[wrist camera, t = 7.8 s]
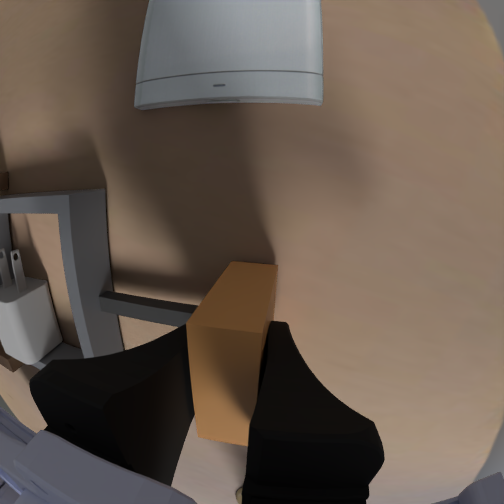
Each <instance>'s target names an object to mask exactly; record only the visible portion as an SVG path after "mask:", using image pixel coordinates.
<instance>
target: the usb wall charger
mask: <svg viewBox="0 0 504 504" xmlns="http://www.w3.org/2000/svg"><path fill="white" fill-rule="evenodd" d="M0 252H3V254H4V255H3V258H2V259H1V258H0V273H1V278H2V282H3V284H2V285H0V340H1V343H2V345H3V348H4V350H5V353H6V354H8V355H10V356H12V357H14V358H15V359H17V360H19V361H21V362H23V363H25V364H28V365H30V364H34V363H36V362H38V361H39V360H40V359H41V358H43V357H44V356H45V355H46V354H47V353H49V352H50V351H51V350H52V349H54V348H55V347H56V346H57V345H58V344H60V343H61V342H62V340H63V339H62V335H61V332H60V329H59V326H58V322H57V319H56V315H55V312H54V308H53V304H52V300H51V296H50V292H49V288H48V283H47V281H46V280H40V279H35V278H30V277H25V276H24V271H23V267H22V262H21V258H20V254H19V250H18V249H16V250H14V251H11V259H12V266H13V271H14V276H15V278H14V279H12V280H11V277H10V272H9V268H8V263H7V258H6V254H5V250H4V248H2V249H0ZM15 253H17V255H18V258H17V260H16V261H15V260H14V258H13V256H14V254H15Z"/></svg>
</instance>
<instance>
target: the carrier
mask: <svg viewBox="0 0 504 504" xmlns="http://www.w3.org/2000/svg"><path fill="white" fill-rule="evenodd" d="M8 213H53V214H58V220H59V232H60V242H61V250H62V258H63V265H64V272H65V278H66V283H67V289H68V294H69V299H70V304H71V309H72V313H73V318H74V322H75V326H76V330H77V334H78V338H79V341H80V345H81V349H79V348H76V347H73V346H71V345H68V344H65V343H63V342H61V343H60V344H58V345H57V346H56V347H55V348H54V349H52V350H51V351H50V352H49V353H47V354H46V355H45V356H44V357H43V358H41V359H40V360H39V361H38V362H36V363H34V364H31V365H32V366H34V367H36V368H38V369H40V370H41V369H42V368H44V367H45V366H46V365H47V364H48V363H49V362H50V361H51V360H53V359H56V360H60V359H83V358H91V357H98V356H104V355H109V354H113V353H117V352H121V351H124V350H123V345H122V340H121V335H120V330H119V325H118V319H117V315H121V316H126V317H131V318H135V319H140V320H145V321H150V322H155V323H160V324H166V325H171V326H177V327H180V326H182V325H184V324H186V329H187V342H188V354H189V366H190V376H191V385H192V394H193V403H194V411H195V419H196V426H197V434H198V437H200V438H205V439H209V440H214V441H220V442H225V443H231V444H237V445H243V446H248V435H249V424H250V421H251V419H252V416H253V413H254V410H255V406H256V403H257V400H258V396H259V393H260V389H261V385H262V381H263V378H264V372H265V361H266V350H267V338H268V328H269V325H270V322H271V321H273V320H274V308H275V296H276V284H277V271H278V265H270V264H259V263H248V262H237V261H231V263H230V264H229V265H228V267H227V268H226V269H225V271H224V272H223V273H222V275H221V276H220V277H219V279H218V280H217V281H216V283H215V284H214V286H213V287H212V288H211V290H210V291H209V292H208V294H207V295H206V296H205V298H204V299H203V300H202V302H201V303H200V305H199V306H197V305H190V304H183V303H177V302H170V301H164V300H158V299H152V298H146V297H140V296H134V295H128V294H123V293H117V292H113V287H112V279H111V271H110V261H109V251H108V239H107V224H106V200H105V189H86V190H65V191H49V192H35V193H23V194H12V195H2V196H0V249H2V248H4V250H5V254H6V258H7V263H8V268H9V272H10V277H11V280H12V279H14V278H15V276H14V271H13V266H12V259H11V251H12V247H11V239H10V231H9V222H8ZM3 255H4V254H3V252H0V258H1V259H2V258H3ZM2 284H3V282H2V278H1V273H0V285H2Z"/></svg>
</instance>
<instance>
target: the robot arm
mask: <svg viewBox="0 0 504 504" xmlns="http://www.w3.org/2000/svg"><path fill="white" fill-rule="evenodd" d="M29 385H30V391H31V395H32V397H33V399H34V401H35V403H36V405H37V407H38V409H39V411H40V413H41V414H42V416H43V418H44V420H45V421H46V423H47V425H48V426H47V427H46V428H45V429H44V430H40V431H39V432H38V433H37V434H36V433H35V432H34V431H32V430H31V429H29V428H28V427H26V426H25V425H24V424H22V423H21V422H19V421H18V420H17V419H15V418H14V417H13V416H12V415H10V414H9V413H8V412H6V411H5V410H4V409H3V408H1V407H0V504H197V503H196V502H195V501H194V500H193V499H192V498H190V497H189V496H187V495H185V494H183V493H181V492H180V491H178V490H176V489H175V488H173V487H171V484H172V480H173V477H174V473H175V470H176V467H177V463H178V460H179V457H180V454H181V451H182V448H183V445H184V441H185V439H186V436H187V433H188V430H189V427H190V424H191V422H192V420H193V417H194V415H195V411H194V403H193V394H192V385H191V376H190V366H189V354H188V342H187V329H186V324H184V325H182V326H180V327H179V328H177V329H175V330H173V331H171V332H169V333H167V334H165V335H163V336H161V337H159V338H157V339H155V340H153V341H151V342H148V343H146V344H143V345H140V346H138V347H135V348H132V349H129V350H125V351H121V352H117V353H113V354H109V355H104V356H98V357H91V358H83V359H60V360H56V359H53V360H51V361H50V362H49V363H48V364H47V365H46V366H45V367H44V368H42V369H41V370H40V371H39V372H38V373H37V374H36V375H35V376H34V377H32V378H31V379H30V384H29ZM383 462H384V450H383V445H382V442H381V439H380V436H379V434H378V431H377V429H376V426H375V424H374V422H373V421H371V420H369V419H368V418H366V417H364V416H362V415H361V414H359V413H357V412H356V411H354V410H352V409H351V408H349V407H348V406H347V405H345V404H344V403H343V402H341V401H340V400H339V399H338V398H336V397H335V396H334V395H333V394H332V393H331V392H330V391H329V390H328V389H326V388H325V387H324V386H323V385H322V383H321V382H320V381H319V380H318V379H317V378H316V376H315V375H314V374H313V373H312V371H311V370H310V369H309V367H308V366H307V364H306V363H305V361H304V359H303V358H302V356H301V354H300V353H299V351H298V349H297V347H296V345H295V343H294V340H293V338H292V335H291V333H290V329H289V325H288V324H287V322H279V321H271V322H270V325H269V328H268V338H267V350H266V361H265V372H264V378H263V381H262V385H261V389H260V393H259V396H258V400H257V403H256V406H255V410H254V413H253V416H252V419H251V421H250V424H249V435H248V450H247V465H246V475H245V479H244V484H243V488H242V493H241V495H242V504H366V499H368V498H369V486H368V485H369V483H370V482H371V481H372V479H373V478H374V477H375V475H376V474H377V473H378V471H379V470H380V468H381V467H382V465H383ZM433 504H504V479H503V476H502V474H501V472H498V473H496V474H493V475H490V476H488V477H485V478H483V479H480V480H478V481H476V482H474V483H472V484H470V485H469V486H467V487H466V488H465V489H464V490H463V491H462V492H461V493H460V494H459V496H457V497H454V498H450V499H447V500H444V501H440V502H437V503H433Z"/></svg>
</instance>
